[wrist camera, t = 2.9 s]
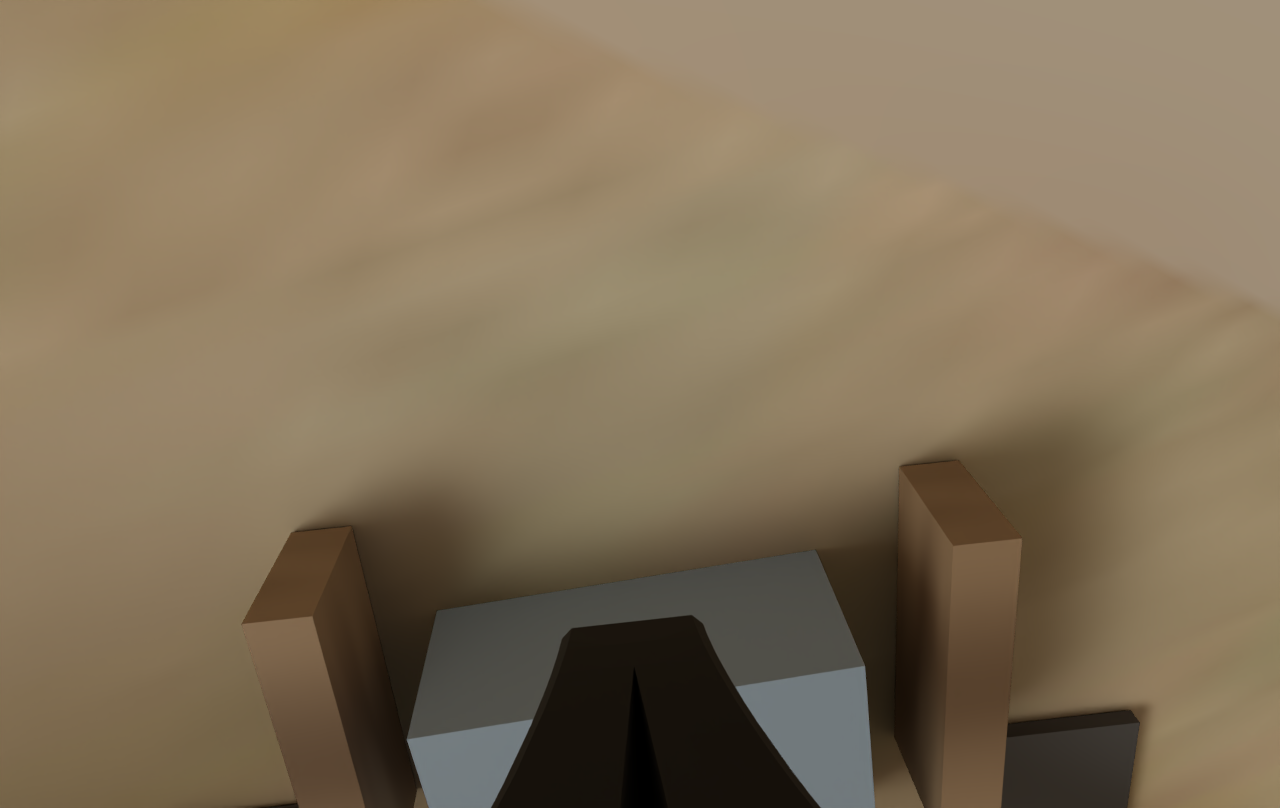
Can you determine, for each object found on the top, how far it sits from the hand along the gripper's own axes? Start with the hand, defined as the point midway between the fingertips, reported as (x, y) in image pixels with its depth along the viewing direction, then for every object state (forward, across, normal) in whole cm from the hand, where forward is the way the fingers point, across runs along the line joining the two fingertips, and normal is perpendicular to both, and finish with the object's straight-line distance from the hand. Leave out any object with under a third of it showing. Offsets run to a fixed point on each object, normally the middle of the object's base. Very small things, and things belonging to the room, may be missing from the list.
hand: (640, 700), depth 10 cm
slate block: (+9, 0, +8) cm, 12 cm away
